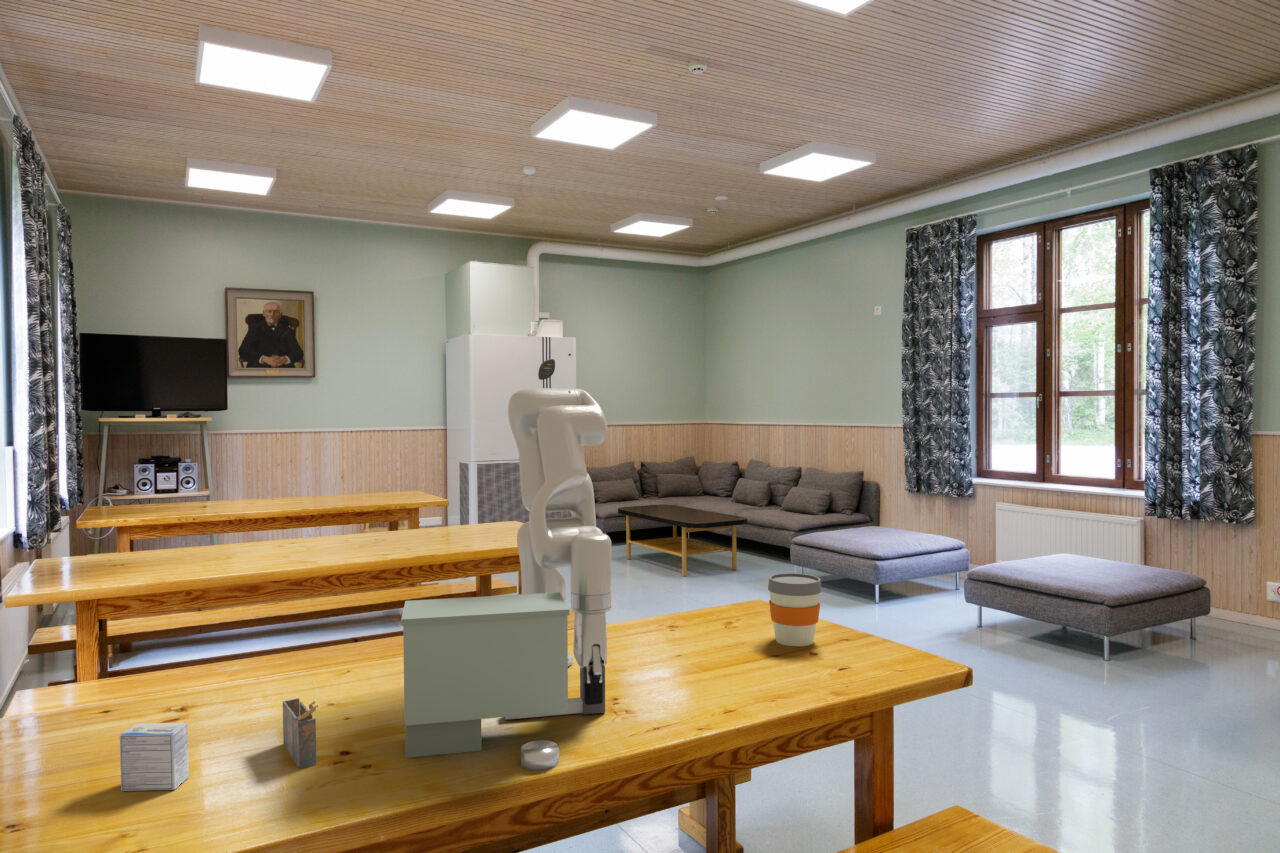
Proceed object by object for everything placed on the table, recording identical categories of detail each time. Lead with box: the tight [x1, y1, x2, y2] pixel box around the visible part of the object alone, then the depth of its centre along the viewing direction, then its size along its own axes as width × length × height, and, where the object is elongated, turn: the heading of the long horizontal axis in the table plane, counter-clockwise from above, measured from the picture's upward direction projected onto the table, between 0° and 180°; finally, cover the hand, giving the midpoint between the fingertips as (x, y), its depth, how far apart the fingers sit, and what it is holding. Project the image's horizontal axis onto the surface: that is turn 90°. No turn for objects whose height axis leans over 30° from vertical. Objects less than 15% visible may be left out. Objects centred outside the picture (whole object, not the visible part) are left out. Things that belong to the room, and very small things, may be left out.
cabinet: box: [400, 592, 570, 759], centre depth 139 cm, size 13×27×23 cm, turn 103°
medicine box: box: [119, 722, 190, 792], centre depth 123 cm, size 8×4×9 cm, turn 92°
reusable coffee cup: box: [767, 572, 823, 647], centre depth 197 cm, size 13×13×15 cm
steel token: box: [520, 739, 560, 772], centre depth 131 cm, size 6×6×2 cm
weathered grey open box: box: [282, 697, 319, 769], centre depth 134 cm, size 11×3×10 cm, turn 35°
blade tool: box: [504, 662, 606, 721], centre depth 151 cm, size 4×18×9 cm, turn 103°
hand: (591, 698), depth 152 cm, fingers closed on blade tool, 4 cm apart
